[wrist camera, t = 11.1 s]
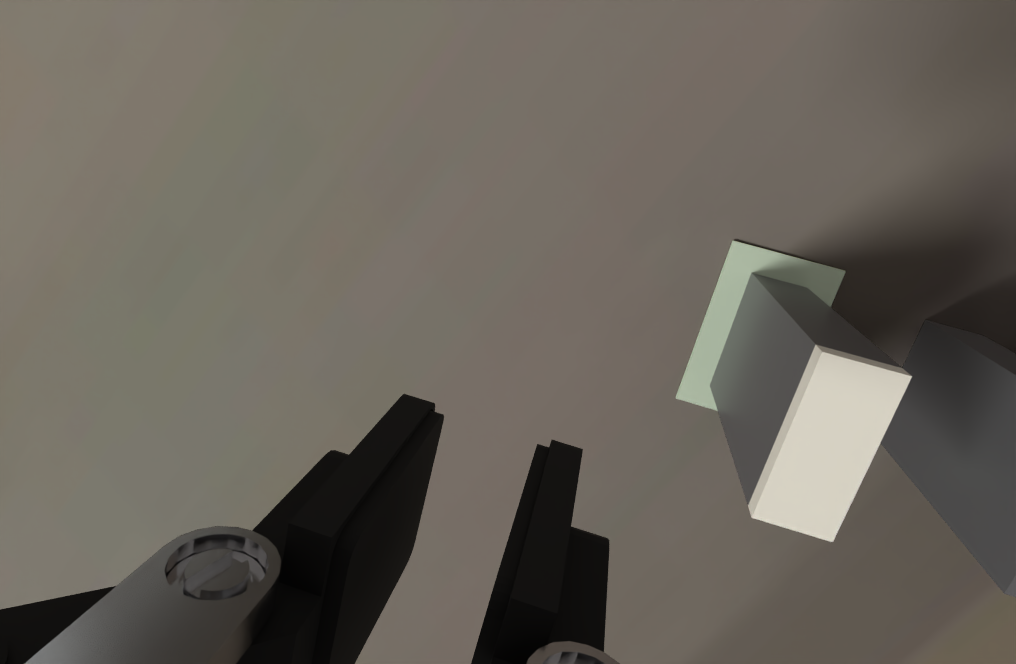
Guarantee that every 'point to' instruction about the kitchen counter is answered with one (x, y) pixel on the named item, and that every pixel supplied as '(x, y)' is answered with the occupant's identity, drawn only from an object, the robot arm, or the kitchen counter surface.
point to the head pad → (728, 300)
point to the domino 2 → (963, 440)
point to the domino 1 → (802, 405)
